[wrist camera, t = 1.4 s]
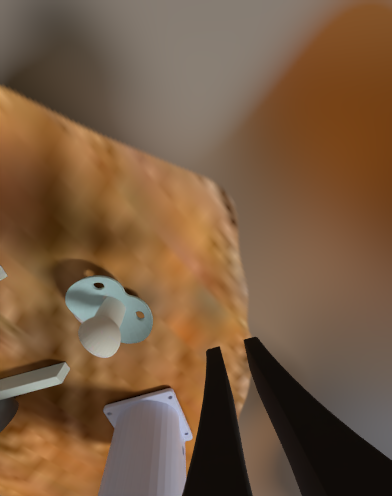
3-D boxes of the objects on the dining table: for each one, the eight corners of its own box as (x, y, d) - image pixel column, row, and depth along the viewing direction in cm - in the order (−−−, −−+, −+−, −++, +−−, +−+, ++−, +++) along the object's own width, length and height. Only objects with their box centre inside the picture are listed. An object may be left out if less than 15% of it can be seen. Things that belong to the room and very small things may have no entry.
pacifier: (123, 342, 20) (163, 306, 18) (98, 414, 14) (155, 368, 13) (57, 301, 17) (98, 257, 16) (-6, 365, 12) (52, 304, 10)
